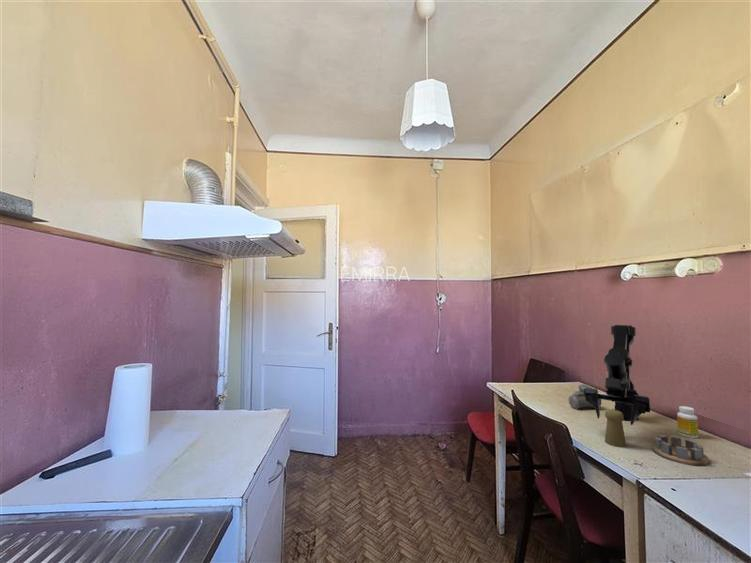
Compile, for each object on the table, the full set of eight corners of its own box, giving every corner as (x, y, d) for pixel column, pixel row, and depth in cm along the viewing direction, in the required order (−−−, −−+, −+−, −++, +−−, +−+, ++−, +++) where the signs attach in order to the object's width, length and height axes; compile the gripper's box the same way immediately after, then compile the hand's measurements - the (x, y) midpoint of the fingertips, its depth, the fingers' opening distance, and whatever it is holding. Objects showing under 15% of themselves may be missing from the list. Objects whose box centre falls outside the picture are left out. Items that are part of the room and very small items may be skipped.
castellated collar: (674, 443, 110) (674, 434, 110) (713, 458, 99) (712, 448, 99) (647, 445, 108) (647, 436, 108) (684, 461, 97) (683, 451, 97)
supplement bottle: (693, 439, 115) (691, 411, 116) (674, 433, 120) (673, 406, 121) (701, 436, 117) (700, 409, 118) (683, 431, 122) (681, 404, 123)
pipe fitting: (588, 403, 154) (586, 381, 154) (602, 410, 146) (601, 387, 146) (565, 407, 152) (564, 385, 152) (579, 414, 144) (577, 392, 144)
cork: (627, 448, 108) (626, 414, 108) (605, 444, 111) (603, 411, 112) (625, 442, 113) (624, 409, 114) (604, 438, 116) (602, 406, 117)
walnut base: (673, 444, 111) (673, 441, 111) (720, 463, 98) (720, 460, 98) (641, 447, 109) (641, 444, 109) (685, 467, 96) (685, 464, 96)
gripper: (583, 365, 123) (578, 402, 114) (648, 372, 111) (648, 414, 102) (588, 382, 129) (583, 419, 120) (650, 391, 116) (650, 433, 107)
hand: (614, 420), depth 112 cm, fingers open, 9 cm apart
